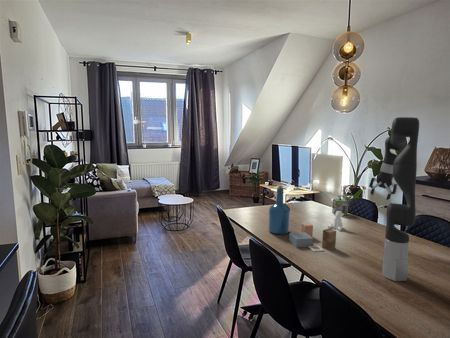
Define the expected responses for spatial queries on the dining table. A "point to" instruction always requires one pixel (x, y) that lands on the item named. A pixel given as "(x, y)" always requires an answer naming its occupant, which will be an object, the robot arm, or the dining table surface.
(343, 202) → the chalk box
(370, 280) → the dining table surface
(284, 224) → the wine bottle
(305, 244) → the plinth
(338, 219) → the white creature statuette
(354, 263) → the dining table surface
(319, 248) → the tile
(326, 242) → the walnut block
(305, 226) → the terracotta block
